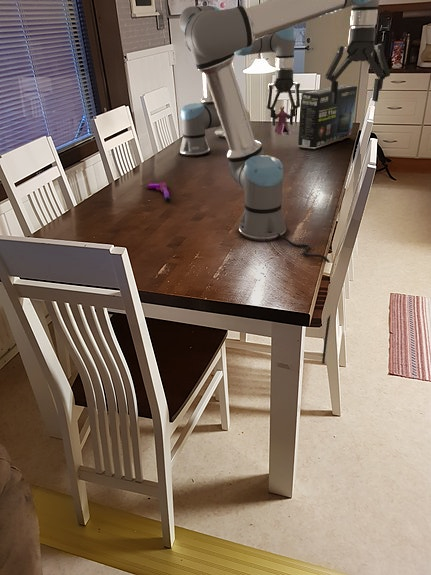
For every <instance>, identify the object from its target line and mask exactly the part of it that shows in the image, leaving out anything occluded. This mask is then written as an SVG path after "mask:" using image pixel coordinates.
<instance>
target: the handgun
mask: <svg viewBox="0 0 431 575" xmlns="http://www.w3.org/2000/svg"><path fill="white" fill-rule="evenodd" d="M147 189H148V190H153V189H154V190H155V189H156V190H157V191H161V194H163V196H164V200H165V202H166V203H170V201H171V197H170V192H169V190H168V188H167V183H166V182H159V183H147Z"/></svg>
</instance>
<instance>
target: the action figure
mask: <svg viewBox="0 0 431 575" xmlns="http://www.w3.org/2000/svg"><path fill="white" fill-rule="evenodd" d="M284 109H285V106H283V107H282V106H280V108H279V110H278V111H279V113H275V120H277V119H278V120H277V121H278V122H277V123H276V124H275V129H274V133H276V134H277V135H279V136H281V135H282V136H283V137H290V136H292V132H291V131H290V128H289V126H288V123H287V120H290V113H287V112H286V111H285V110H284ZM284 133H285V134H284Z"/></svg>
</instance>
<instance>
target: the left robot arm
mask: <svg viewBox="0 0 431 575" xmlns="http://www.w3.org/2000/svg"><path fill="white" fill-rule="evenodd" d="M202 10H220V8H218V7H217V6H214V5H199V6H193V5H192V6H191V5H190V6H187V7H186V8H184V9H183V10H182V12H181V14H180V16H179V22H178V23H179V27H180V29H181V31H182V32H183V33H184V31H185V26H186V24H187V22H188V20H189V19H190V17H191V16H193V15H194V14H195V13H197V12H198V11H202ZM295 44H296V29H295V26H293V27H290V28H287V29H284V30H281V31H279V32H276V33H273V34H270V35H267V36H264V37H262V38H259V39H256V40H254V42H253V44H252V45H251V46H249V47H246V48H244V49H241V50H239V51H236V52H234V54H235V56H236V55H237V56H243V57H244V56H250V55H257V54H267V53H272V54H273V53H274V54H275V77H274V78H275V79H274V82H273V83H271V84H270V83H268V84H267V88H268V92H267V98H266V106H265V107H266V109H268V110H269V111H270V112H269V116H270V118H272V119H271V120H272V123H271V125H272V126H273V127H276V119H275V114H276V110H275V107H276V104H277V102H278V100H279V97H280V95H281V93H287V96H288V99H289V103H290V105H291V108H290V109H289V115H290V119H289V125H291V126H293V123H294V117H296V112H297V111H296V110H297V109H298V108H301V97H300V87H301V83H299V82H294V67H295V66H294V65H295V46H296V45H295ZM201 83H202V95H203V96H202V97H201V99H200V102H194V103H188V104H185V105H184V106H182V107H181V109H180V120H181V121H180V122H181V135H182V139H181V143H180V147H179V154H180V155H181V156H182V157H183V156H184V157H189V158H190V157H191V158H192V157H195V158H196V157H202V156H206V155H208V154H210V146H209V144H208V140H207V138H206V130H208V129H214V128H219V127H220V126H221V127H222V125H221V122H220V119H219V116H218V113H217V110H216V107H215V104H214V101H213V98H212V95H211V92H210V89H209V86H208V83H207V80H206V77H205V74H204V73H202V72H201ZM274 88H276V91H275V94H274V97H273V96H272V95H273V90H274ZM292 88H294V91H295V92H294V93H295V100H294V96H293V93H292V90H291V89H292ZM272 97H273V99H272ZM271 101H272V102H271Z"/></svg>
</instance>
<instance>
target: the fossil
mask: <svg viewBox="0 0 431 575" xmlns="http://www.w3.org/2000/svg"><path fill="white" fill-rule="evenodd" d="M214 134H215V136H216V135H222V136H217V137H218V138H220V137H223V136H225V134H224V131H223V128H218V129H216V130H215V131H214Z"/></svg>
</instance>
